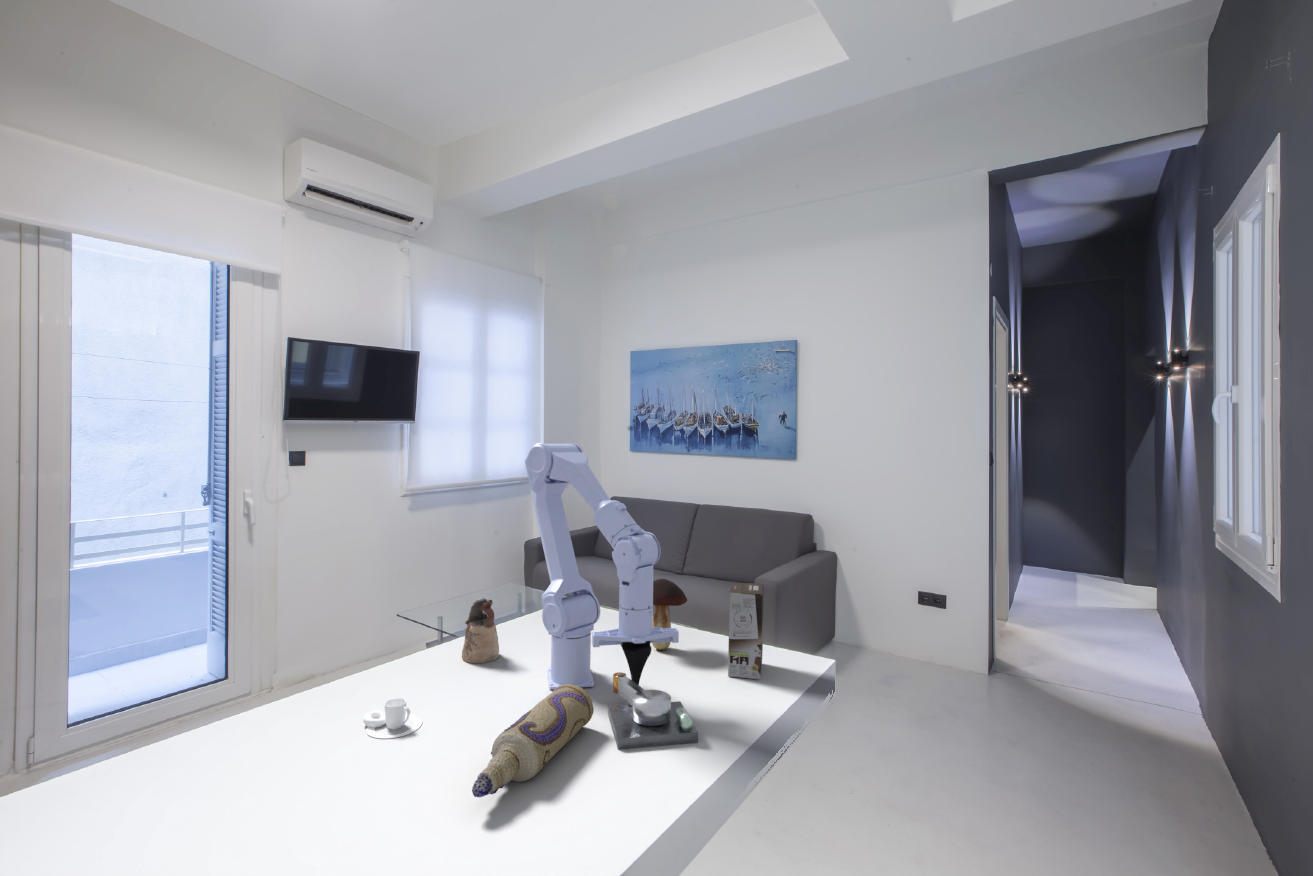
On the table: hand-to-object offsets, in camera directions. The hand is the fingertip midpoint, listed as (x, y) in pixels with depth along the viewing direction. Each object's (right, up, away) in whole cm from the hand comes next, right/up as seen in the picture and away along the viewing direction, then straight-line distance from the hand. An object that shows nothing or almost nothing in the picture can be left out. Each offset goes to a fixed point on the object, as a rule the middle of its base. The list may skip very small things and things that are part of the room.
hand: (634, 686), depth 106 cm
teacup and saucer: (-37, -3, -6) cm, 38 cm away
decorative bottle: (-14, -3, -18) cm, 23 cm away
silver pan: (+1, -1, -5) cm, 5 cm away
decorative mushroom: (+5, -3, +28) cm, 28 cm away
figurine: (-32, -3, +21) cm, 38 cm away
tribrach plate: (+3, -3, -8) cm, 9 cm away
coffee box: (+21, -4, +17) cm, 27 cm away
